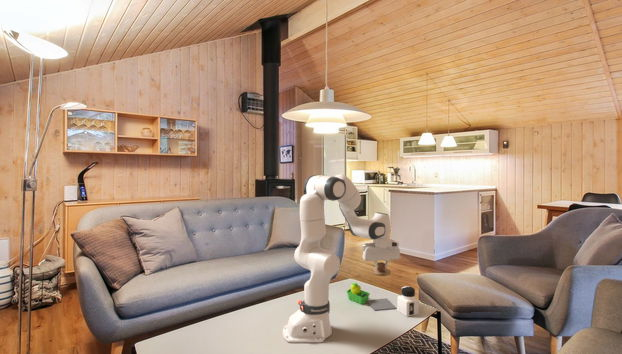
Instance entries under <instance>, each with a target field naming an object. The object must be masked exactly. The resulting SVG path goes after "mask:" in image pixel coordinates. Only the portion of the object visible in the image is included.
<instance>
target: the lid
mask: <svg viewBox="0 0 622 354" xmlns="http://www.w3.org/2000/svg"><path fill="white" fill-rule="evenodd" d="M376 263H377V264H378V265H379V268H378V269H376V268H375V267H374V268H371V273H372V275H374V276H378V277H388V276H390V275H391V269H388V268H385V262H384V261H381V262H380V261H379V262H378V261H377V262H376Z"/></svg>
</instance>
